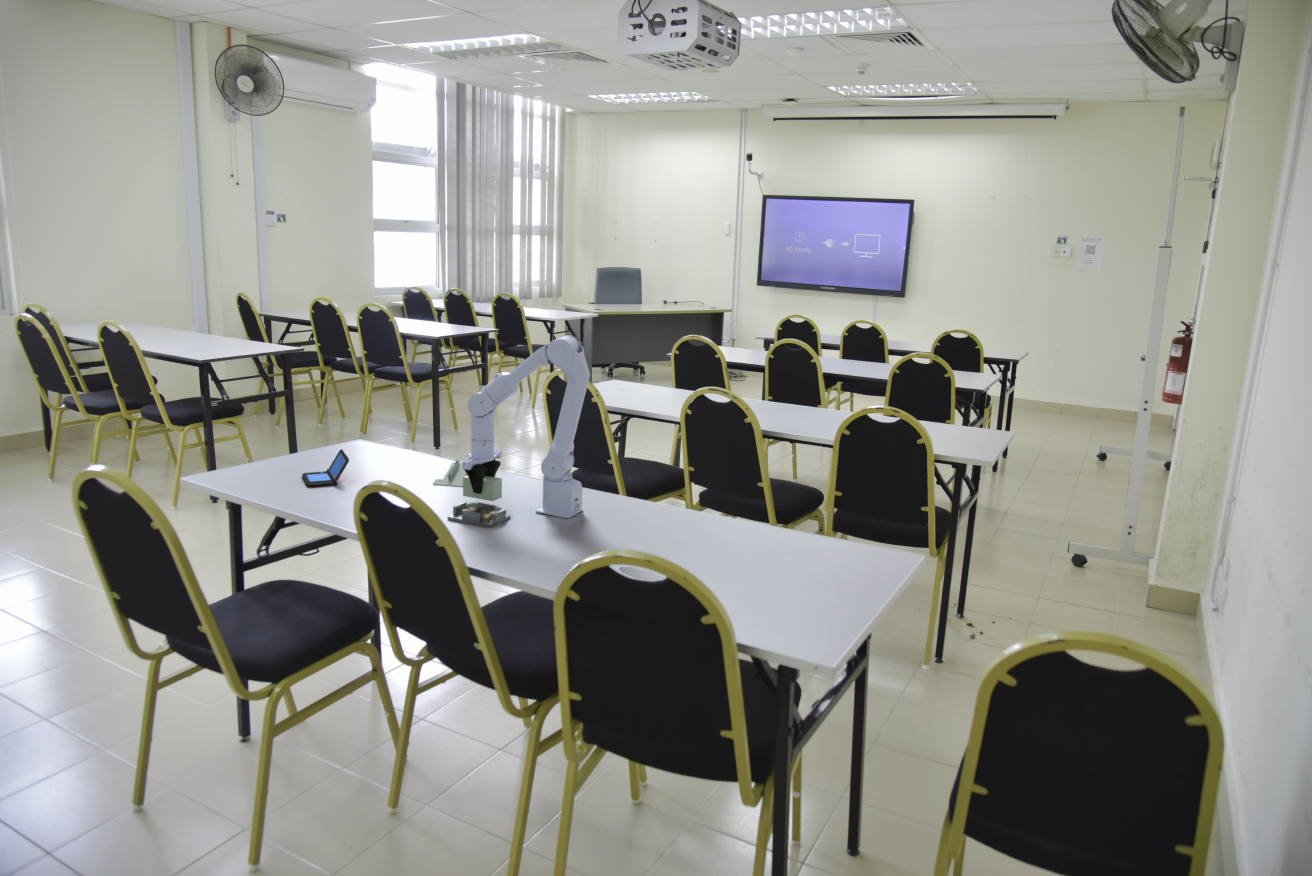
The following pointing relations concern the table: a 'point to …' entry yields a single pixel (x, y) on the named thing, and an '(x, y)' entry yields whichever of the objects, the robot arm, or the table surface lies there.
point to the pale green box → (484, 488)
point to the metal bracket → (452, 476)
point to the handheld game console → (327, 473)
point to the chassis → (478, 515)
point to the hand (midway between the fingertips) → (482, 490)
